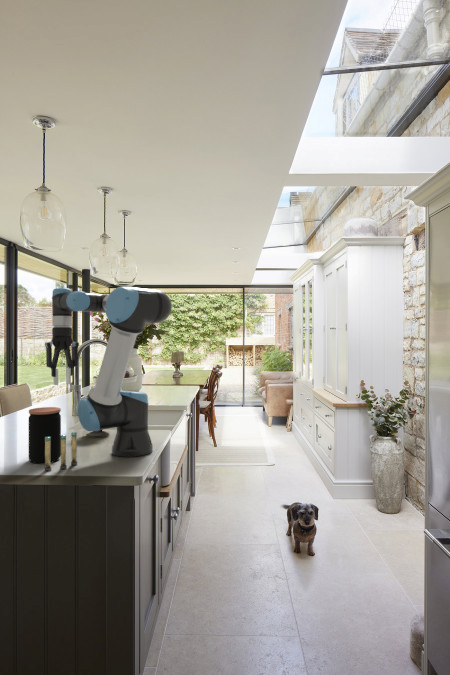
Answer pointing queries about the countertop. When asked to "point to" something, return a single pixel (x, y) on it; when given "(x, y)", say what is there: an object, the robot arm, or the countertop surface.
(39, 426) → the coffee jar
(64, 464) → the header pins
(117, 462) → the countertop surface
